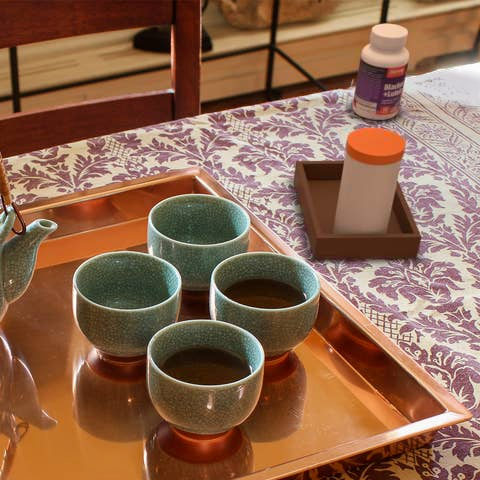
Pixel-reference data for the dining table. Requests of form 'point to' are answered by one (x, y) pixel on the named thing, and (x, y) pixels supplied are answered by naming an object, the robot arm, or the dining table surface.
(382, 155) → the orange-capped white bottle
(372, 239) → the tray
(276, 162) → the dining table surface
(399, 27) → the pill bottle
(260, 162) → the dining table surface
